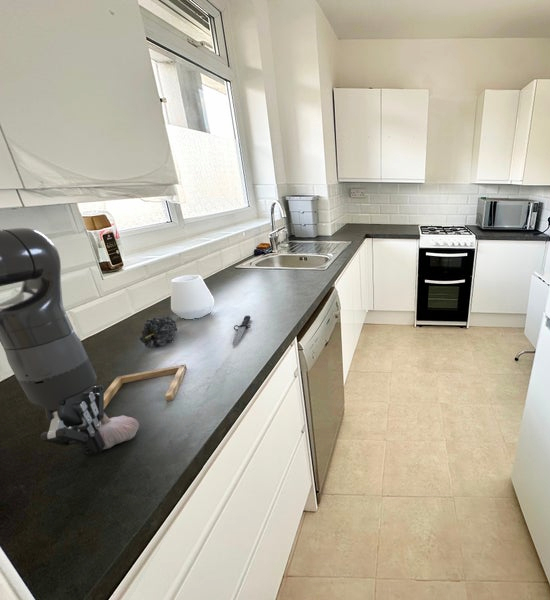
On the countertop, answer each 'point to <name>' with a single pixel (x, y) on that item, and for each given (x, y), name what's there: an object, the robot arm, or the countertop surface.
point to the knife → (241, 329)
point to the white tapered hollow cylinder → (190, 297)
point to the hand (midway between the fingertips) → (96, 451)
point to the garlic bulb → (117, 429)
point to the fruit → (158, 331)
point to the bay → (120, 380)
